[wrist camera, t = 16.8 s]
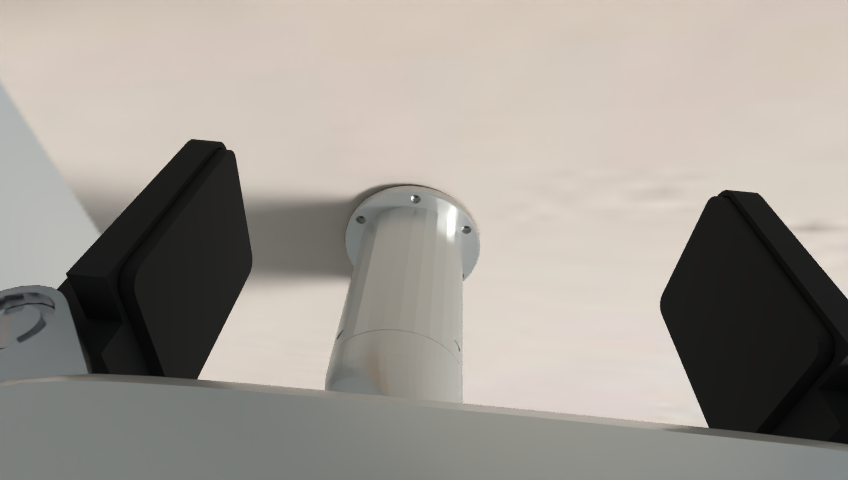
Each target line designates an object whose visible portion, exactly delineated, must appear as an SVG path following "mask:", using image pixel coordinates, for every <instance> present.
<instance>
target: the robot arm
mask: <svg viewBox="0 0 848 480" xmlns="http://www.w3.org/2000/svg"><path fill="white" fill-rule="evenodd" d="M415 195H418V196H415ZM345 248H346V251H347V255H348V258H349V260H350V262H351V264H352V266H353V267H354V269H353V273H352V277H351V281H350V285H349V289H348V292H347V296H346V300H345V304H344V308H343V312H342V315H341V319H340V323H339V327H338V331H337V335H336V339H335V342H334V346H333V350H332V354H331V358H330V362H329V366H328V370H327V374H326V380H325V390H314V389H303V388H292V387H281V386H270V385H260V384H249V383H235V382H222V381H209V380H197V378H198V376H199V374H200V372H201V370H202V368H203V366H204V364H205V362H206V360H207V358H208V356H209V354H210V352H211V350H212V348H213V346H214V344H215V342H216V340H217V338H218V336H219V334H220V332H221V330H222V328H223V326H224V324H225V322H226V320H227V318H228V316H229V314H230V312H231V310H232V308H233V306H234V304H235V302H236V300H237V298H238V296H239V294H240V292H241V290H242V288H243V286H244V284H245V282H246V280H247V278H248V276H249V274H250V271H251V268H252V252H251V246H250V240H249V234H248V228H247V222H246V216H245V210H244V204H243V198H242V193H241V187H240V181H239V175H238V169H237V163H236V158H235V154H234V152H233V151H232V150H226V147H225V145H224V144H223V143H222V142H216V141H206V140H195V139H191V140H190V141H188V142H187V143H186V144H185V145H184V147H183V148H182V149H181V150H180V151H179V152H178V153H177V154H176V155H175V156H174V157H173V158H172V159H171V161H170V162H169V163H168V164H167V165H166V166H165V167H164V168H163V169H162V170H161V171H160V172H159V174H158V175H157V176H156V177H155V178H154V179H153V180H152V181H151V182H150V183H149V184H148V185H147V187H146V188H145V189H144V190H143V191H142V192H141V193H140V194H139V195H138V196H137V197H136V198H135V199H134V201H133V202H132V203H131V204H130V205H129V206H128V207H127V208H126V209H125V210H124V211H123V212H122V214H121V215H120V216H119V217H118V218H117V219H116V220H115V221H114V222H113V223H112V224H111V225H110V227H109V228H108V229H107V230H106V231H105V232H104V233H103V234H102V235H101V236H100V237H99V238H98V239H97V241H96V242H95V243H94V244H93V245H92V246H91V247H90V248H89V249H88V250H87V251H86V253H85V254H84V255H83V256H82V257H81V258H80V259H79V260H78V261H77V262H76V263H75V264H74V265H73V267H72V268H71V269H70V270H69V271H68V272H67V273H66V275H67V277H68V278H67V279H66V280H65V281H64V282H63V283H62V284H61V285H60V286H59V288H58V289H57V290H56V289H54V288H52V287H46V286H40V285H32V286H20V287H15V288H11V289H6V290H3V291H0V480H848V299H847V298H846V297H845V295H844V294H843V293H842V292H841V291H840V290H839V288H838V287H837V286H836V285H835V284H834V282H833V281H832V280H831V279H830V278H829V276H828V275H827V274H826V273H825V272H824V270H823V269H822V268H821V267H820V266H819V264H818V263H817V262H816V261H815V260H814V259H813V257H812V256H811V255H810V254H809V253H808V251H807V250H806V249H805V248H804V247H803V245H802V244H801V243H800V242H799V241H798V239H797V238H796V237H795V236H794V235H793V233H792V232H791V231H790V230H789V229H788V228H787V226H786V225H785V224H784V223H783V222H782V220H781V219H780V218H779V217H778V216H777V214H776V213H775V212H774V211H773V210H772V208H771V207H770V206H769V205H768V204H767V202H766V201H765V200H764V199H763V198H762V197H761V196H760V195H759V194H758V193H752V192H742V191H731V190H725V191H722V192H721V193H720V194H719V195H718V196H714V197H711V198H710V199H709V201H708V202H707V204H706V206H705V208H704V210H703V212H702V214H701V216H700V218H699V220H698V222H697V224H696V226H695V228H694V230H693V232H692V235H691V237H690V239H689V241H688V243H687V245H686V247H685V249H684V251H683V253H682V255H681V257H680V259H679V261H678V263H677V265H676V267H675V269H674V271H673V273H672V276H671V278H670V280H669V282H668V284H667V286H666V288H665V290H664V292H663V294H662V297H661V301H660V310H661V314H662V316H663V319H664V321H665V323H666V326H667V328H668V331H669V333H670V335H671V338H672V340H673V343H674V345H675V347H676V350H677V352H678V355H679V357H680V359H681V362H682V364H683V367H684V369H685V371H686V374H687V376H688V379H689V381H690V383H691V386H692V388H693V390H694V393H695V395H696V398H697V400H698V402H699V405H700V407H701V410H702V412H703V414H704V417H705V419H706V422H707V424H708V426H709V428H703V427H693V426H683V425H673V424H664V423H654V422H644V421H634V420H625V419H615V418H605V417H596V416H586V415H576V414H565V413H555V412H545V411H535V410H525V409H515V408H504V407H494V406H484V405H473V404H463V401H462V307H463V281H464V280H465V279H466V278H467V277H468V276H469V275H470V274H471V272H472V271H473V269H474V267H475V266H476V264H477V260H478V257H479V251H480V240H479V232H478V229H477V226H476V223H475V222H474V220H473V218H472V216H471V215H470V213H469V212H468V211H467V210H466V209H465V208H464V207H463V206H462V205H461V204H460V203H459V202H457V201H456V200H455V199H453V198H452V197H450V196H448V195H446V194H444V193H442V192H440V191H437V190H433V189H430V188H426V187H419V186H398V187H393V188H388V189H385V190H382V191H380V192H377V193H375V194H373V195H372V196H370V197H368V198H367V199H365V200H364V201H363V202H362V203H361V204H360V205H359V206H358V207H357V208H356V210H355V211H354V213H353V214H352V216H351V218H350V220H349V223H348V226H347V230H346V234H345Z"/></svg>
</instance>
